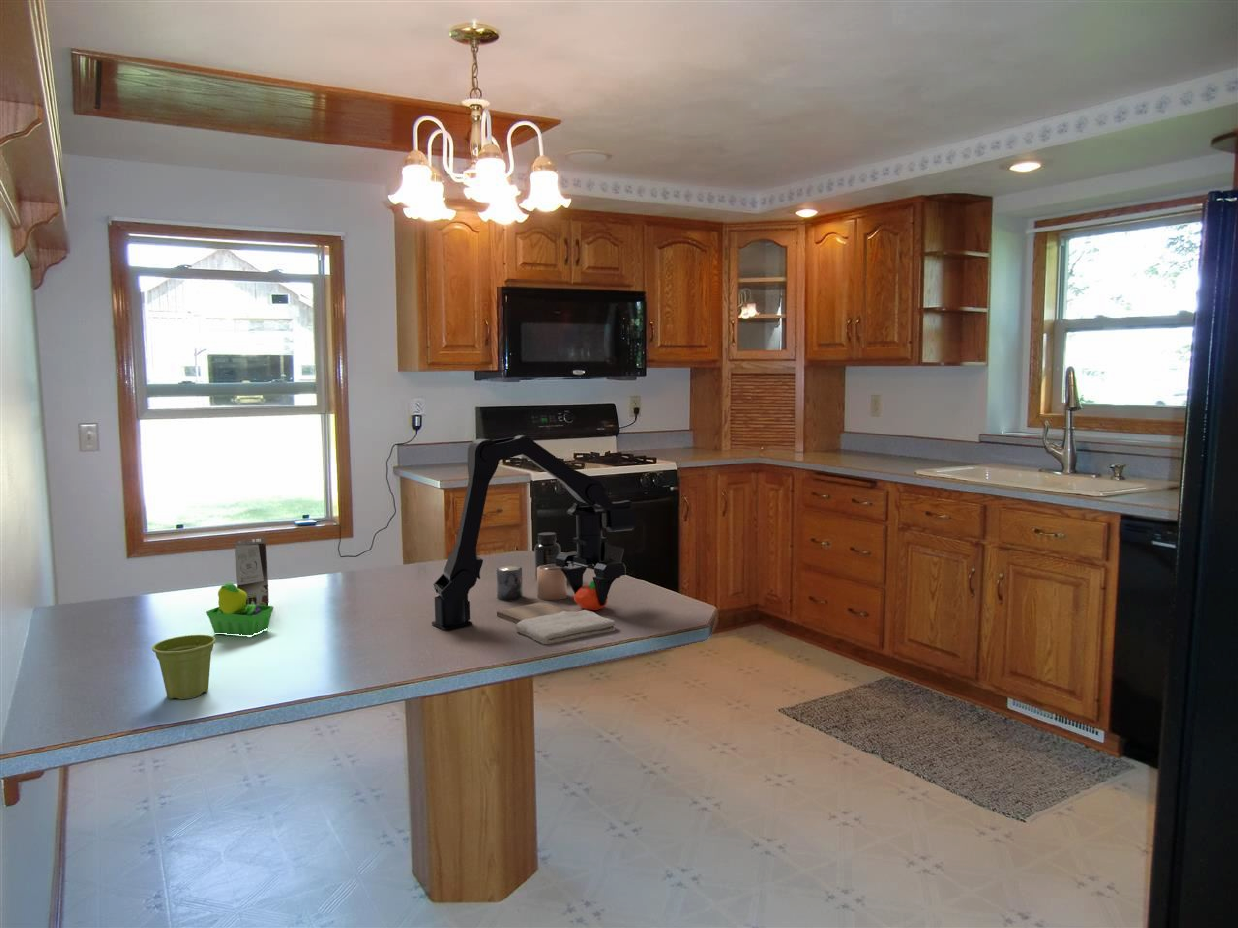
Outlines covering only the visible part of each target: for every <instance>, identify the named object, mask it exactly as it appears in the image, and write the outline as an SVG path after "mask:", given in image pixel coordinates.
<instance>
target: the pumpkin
mask: <svg viewBox="0 0 1238 928" xmlns="http://www.w3.org/2000/svg"><path fill="white" fill-rule="evenodd" d="M590 582H591V583H590V585H583V586H582V587H581V588H580V589H579V590H578V591H577V592H576V594H574V597H573V599H574V601H575V604H577V605H578V606H579V607H580V608H583V610H588V611H598V610H600V609H603V608H604V607H606V605H607V604H608V599H609V597H608V596H607V599H606V602H605V605H603V606H600V605H599V602H598V598H597V594H596V590H595V586H594V582H593V580H591V581H590Z"/></svg>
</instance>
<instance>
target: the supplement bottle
mask: <svg viewBox="0 0 1238 928" xmlns="http://www.w3.org/2000/svg"><path fill="white" fill-rule="evenodd" d="M556 541H557V533H556V532H551V531H549V532H540V533H537V542H538V543H537V544H535V546H534V548H533V550H534V551H533V552H534V554H533V555H534V577H535V580H536V581H537V567H539V566H543V565H556V557H557V556H558V555H559V554H560V553H561V545H560V544H559V543H557V542H556Z"/></svg>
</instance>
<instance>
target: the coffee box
mask: <svg viewBox="0 0 1238 928" xmlns="http://www.w3.org/2000/svg"><path fill="white" fill-rule="evenodd" d="M234 547H235V548H234V552H235V556H234V557H235V572H236V587H237V588H238V589H240V590H243V591H244V592H245V593H246V594H247V600H246V604H248V605H251V604H252V603H254V604H255V605H262V606H268V603H269V580H268V579H269V574H268V573H269V572H268V557H267V543H266V537H253V538H244V539H236V540H235V545H234Z"/></svg>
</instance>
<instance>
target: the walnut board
mask: <svg viewBox="0 0 1238 928" xmlns="http://www.w3.org/2000/svg"><path fill="white" fill-rule="evenodd" d="M562 611H569V612H572V611H570V610H567V609H565V608H561V607H558V606H555V605H552V604H550V603H547V602H543V601H540V602H535V603H531V604H526V605H521V606H516V607H512V608H507V609H501V610H497V611H496V617H499V618H502V619H505V620H507V621H509V622H513V623H515V624H517V623H518V622H520V621H522V620H524V619H531V618H535V617H539V616H544V615H552V614H556V613H560V612H562Z"/></svg>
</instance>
